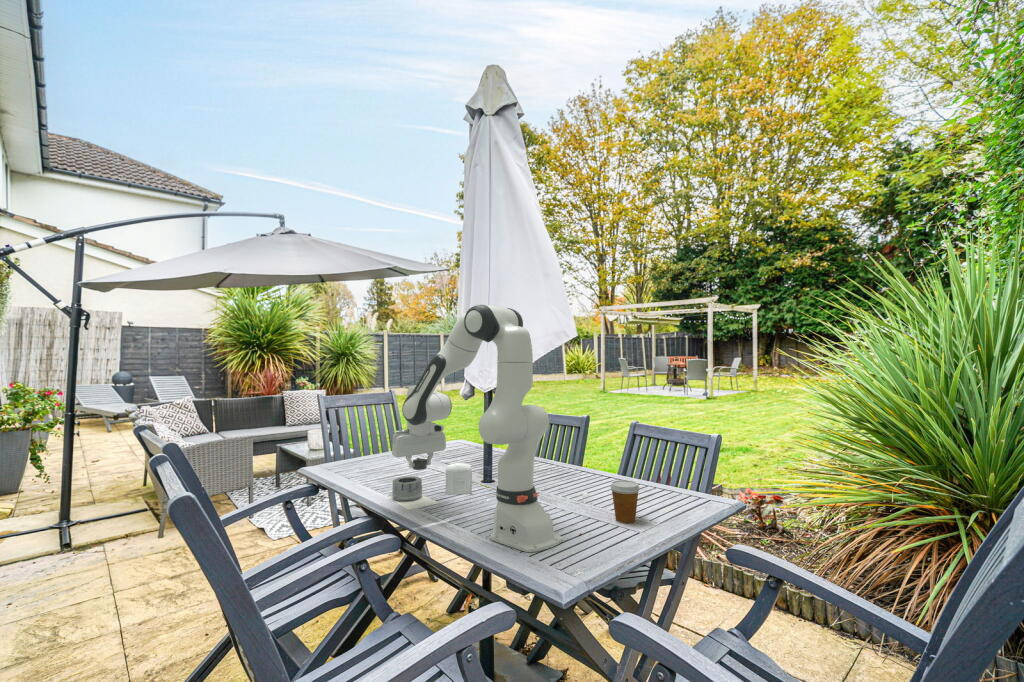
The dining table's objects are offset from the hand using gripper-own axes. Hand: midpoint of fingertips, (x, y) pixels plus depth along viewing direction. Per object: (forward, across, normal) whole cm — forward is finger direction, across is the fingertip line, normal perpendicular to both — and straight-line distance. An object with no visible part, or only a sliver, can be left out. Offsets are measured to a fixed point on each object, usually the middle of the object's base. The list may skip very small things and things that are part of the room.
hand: (419, 466), depth 176 cm
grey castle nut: (+13, 0, +11) cm, 17 cm away
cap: (+1, 0, 0) cm, 1 cm away
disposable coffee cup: (+16, +46, -55) cm, 74 cm away
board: (+14, 0, +7) cm, 16 cm away
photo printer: (+15, +18, +4) cm, 24 cm away
